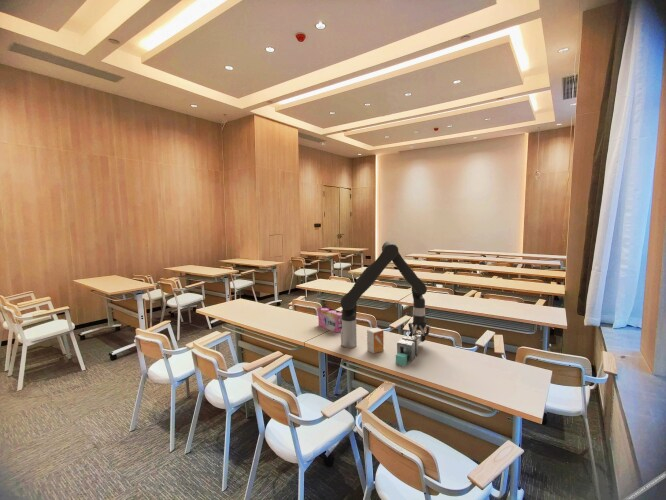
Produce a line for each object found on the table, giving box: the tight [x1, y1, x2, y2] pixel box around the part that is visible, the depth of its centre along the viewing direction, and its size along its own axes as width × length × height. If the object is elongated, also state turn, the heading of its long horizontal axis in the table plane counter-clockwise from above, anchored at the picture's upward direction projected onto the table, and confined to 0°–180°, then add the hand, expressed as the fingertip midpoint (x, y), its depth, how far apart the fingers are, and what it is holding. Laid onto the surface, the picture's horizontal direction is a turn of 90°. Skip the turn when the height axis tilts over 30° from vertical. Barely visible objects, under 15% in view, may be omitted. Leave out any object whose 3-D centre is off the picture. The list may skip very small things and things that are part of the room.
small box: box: [366, 327, 385, 354], centre depth 188 cm, size 8×6×13 cm
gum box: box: [317, 306, 342, 333], centre depth 232 cm, size 24×8×14 cm, turn 38°
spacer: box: [395, 352, 408, 367], centre depth 171 cm, size 5×5×4 cm
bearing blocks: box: [396, 336, 419, 363], centre depth 178 cm, size 9×10×10 cm
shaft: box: [403, 331, 424, 353], centre depth 186 cm, size 5×24×5 cm, turn 146°
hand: (419, 340), depth 195 cm, fingers closed on shaft, 5 cm apart
